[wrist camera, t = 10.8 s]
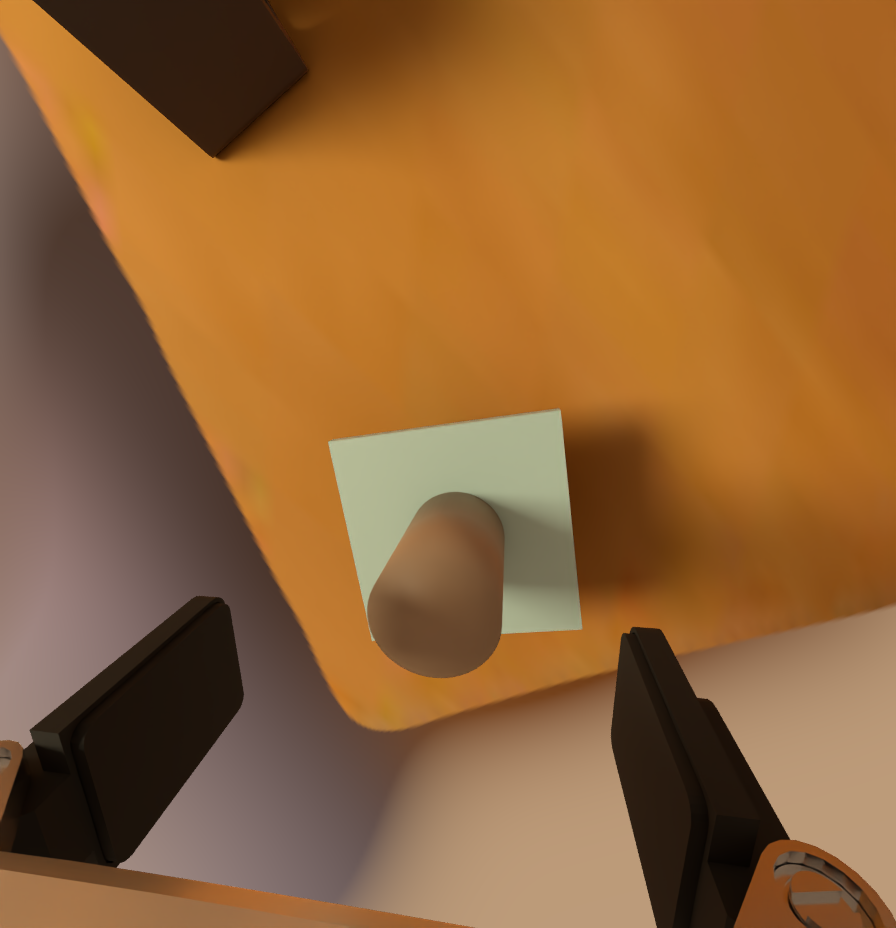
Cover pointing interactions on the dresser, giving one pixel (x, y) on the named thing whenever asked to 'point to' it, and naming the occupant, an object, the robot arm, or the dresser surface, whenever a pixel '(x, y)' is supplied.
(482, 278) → the dresser surface
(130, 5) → the phone stand
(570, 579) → the lid
